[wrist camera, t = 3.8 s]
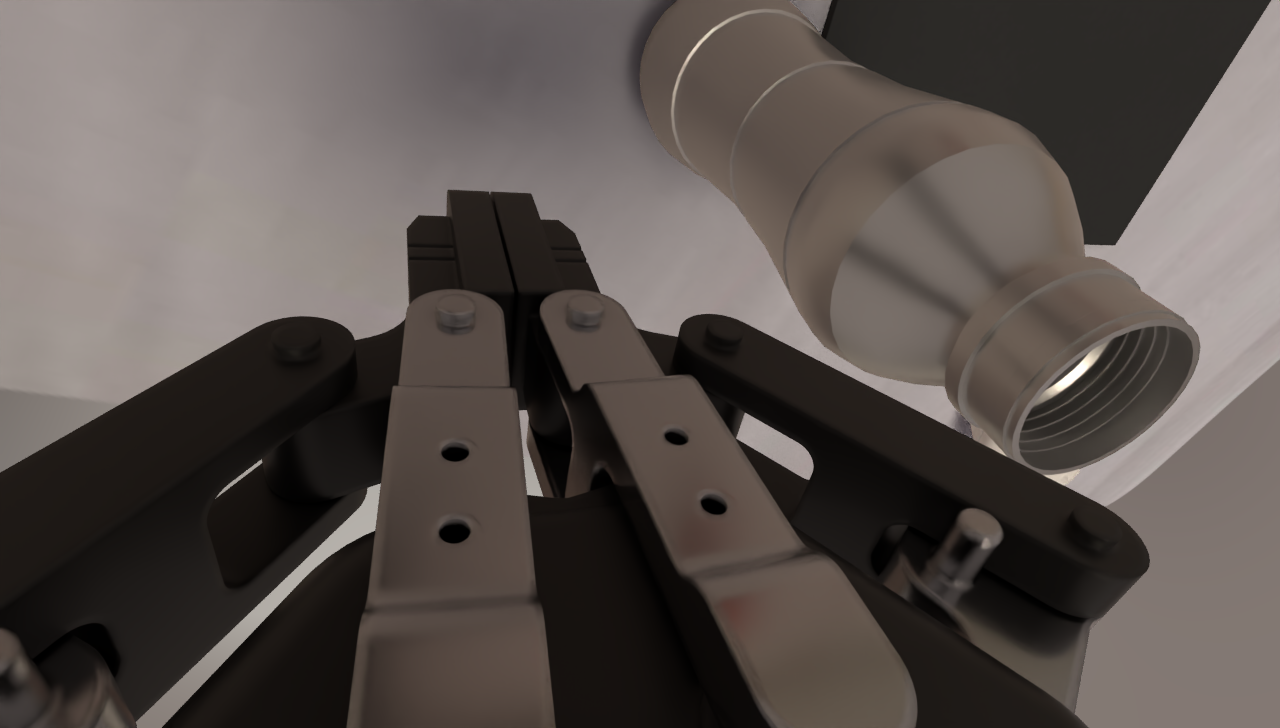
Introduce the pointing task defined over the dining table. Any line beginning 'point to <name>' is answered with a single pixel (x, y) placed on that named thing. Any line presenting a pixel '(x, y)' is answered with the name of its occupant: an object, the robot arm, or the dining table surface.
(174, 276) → the dining table surface
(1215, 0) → the rubber mat
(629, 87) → the dining table surface
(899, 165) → the plastic bottle
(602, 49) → the dining table surface
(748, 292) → the dining table surface
